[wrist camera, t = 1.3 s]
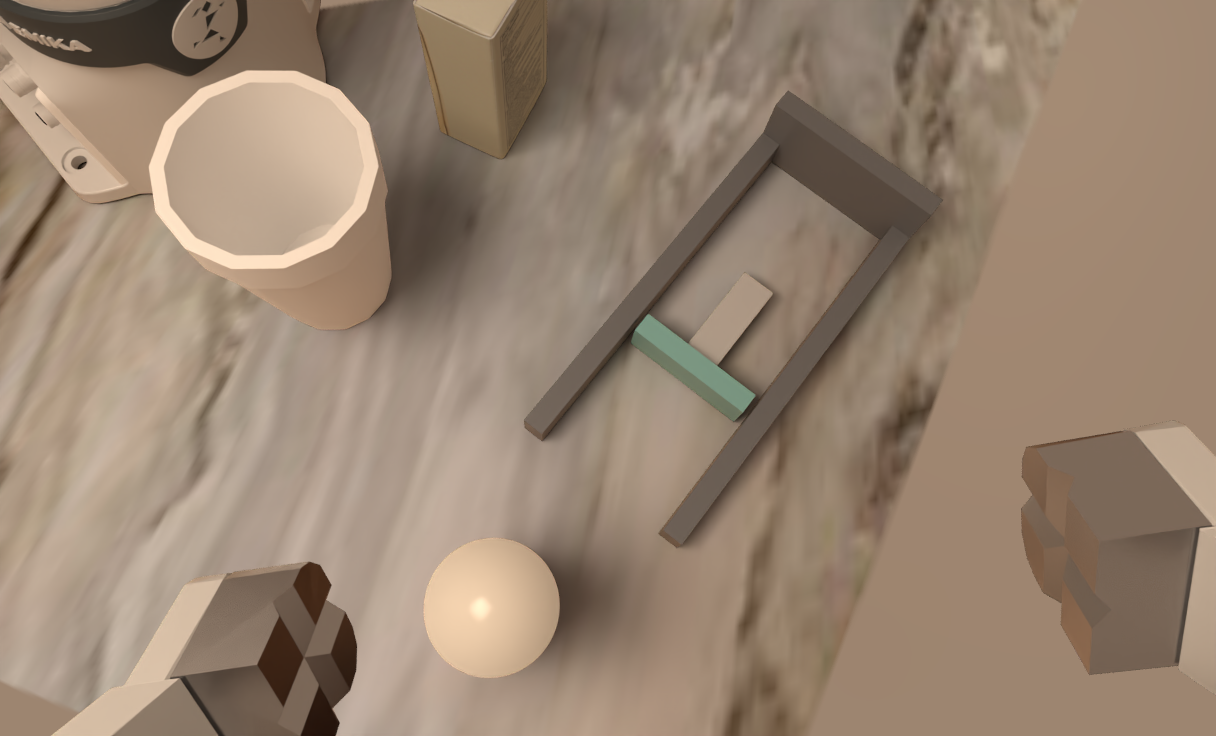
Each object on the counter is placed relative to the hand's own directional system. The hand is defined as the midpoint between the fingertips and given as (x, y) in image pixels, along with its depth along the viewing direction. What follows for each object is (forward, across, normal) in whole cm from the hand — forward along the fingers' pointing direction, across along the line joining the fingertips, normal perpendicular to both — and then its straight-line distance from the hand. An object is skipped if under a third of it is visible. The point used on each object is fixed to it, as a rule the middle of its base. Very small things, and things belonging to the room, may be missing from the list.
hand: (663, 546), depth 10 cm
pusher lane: (+37, -1, +18) cm, 41 cm away
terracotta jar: (+26, +12, +25) cm, 38 cm away
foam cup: (+38, +19, +10) cm, 44 cm away
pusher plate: (+37, -1, +18) cm, 41 cm away
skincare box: (+46, +10, +5) cm, 48 cm away
